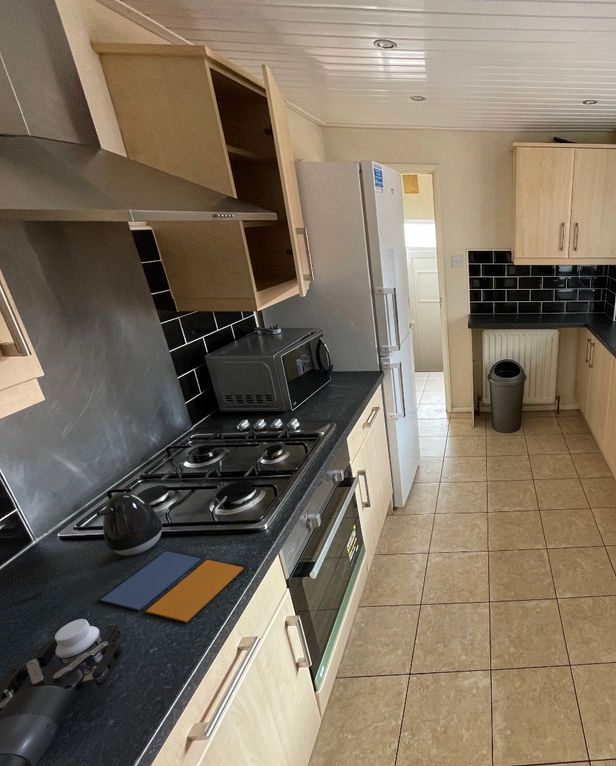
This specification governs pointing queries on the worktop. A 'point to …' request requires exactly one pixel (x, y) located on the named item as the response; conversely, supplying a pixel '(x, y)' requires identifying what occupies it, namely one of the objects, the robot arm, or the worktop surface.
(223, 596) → the worktop surface
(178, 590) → the amber mat
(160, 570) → the slate mat
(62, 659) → the pill bottle
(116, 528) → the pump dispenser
